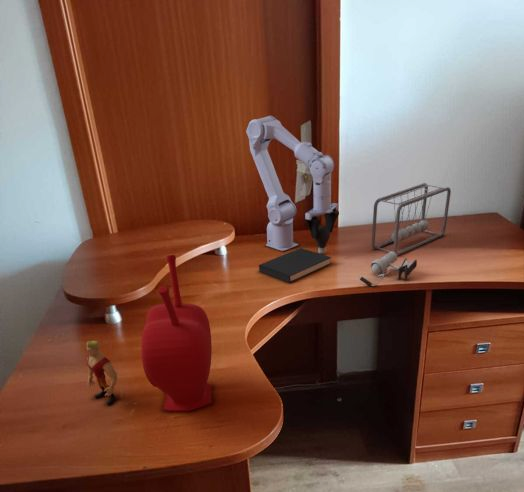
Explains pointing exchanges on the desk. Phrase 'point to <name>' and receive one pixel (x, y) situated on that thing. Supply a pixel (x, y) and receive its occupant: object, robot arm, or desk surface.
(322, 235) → the light bulb
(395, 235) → the newton's cradle
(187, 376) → the novelty television
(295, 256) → the notebook
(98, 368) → the action figure
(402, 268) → the clip-on lamp
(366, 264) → the desk surface
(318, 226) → the robot arm
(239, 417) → the desk surface
